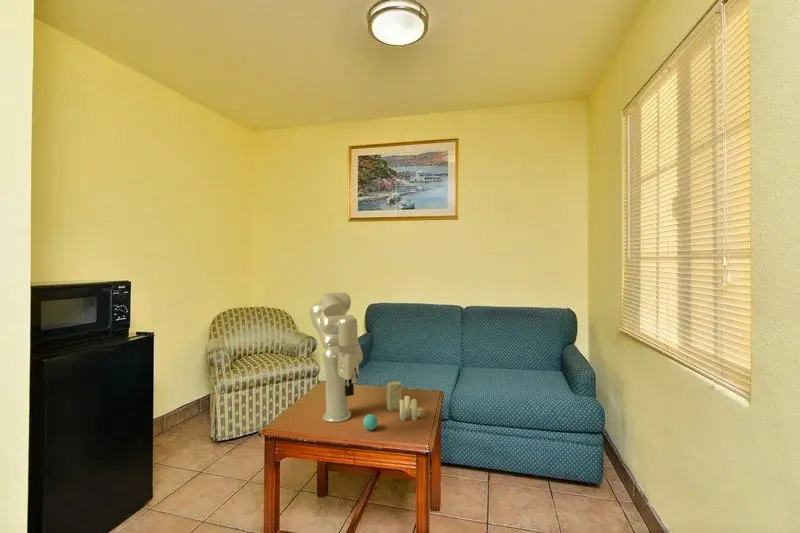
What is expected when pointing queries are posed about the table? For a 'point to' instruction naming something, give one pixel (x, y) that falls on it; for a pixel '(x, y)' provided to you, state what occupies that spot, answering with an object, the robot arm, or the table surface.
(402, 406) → the pin front
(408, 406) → the pin
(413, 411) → the pin
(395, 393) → the skincare box
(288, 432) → the table surface
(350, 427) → the table surface
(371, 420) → the ball
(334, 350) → the robot arm
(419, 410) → the back rail
